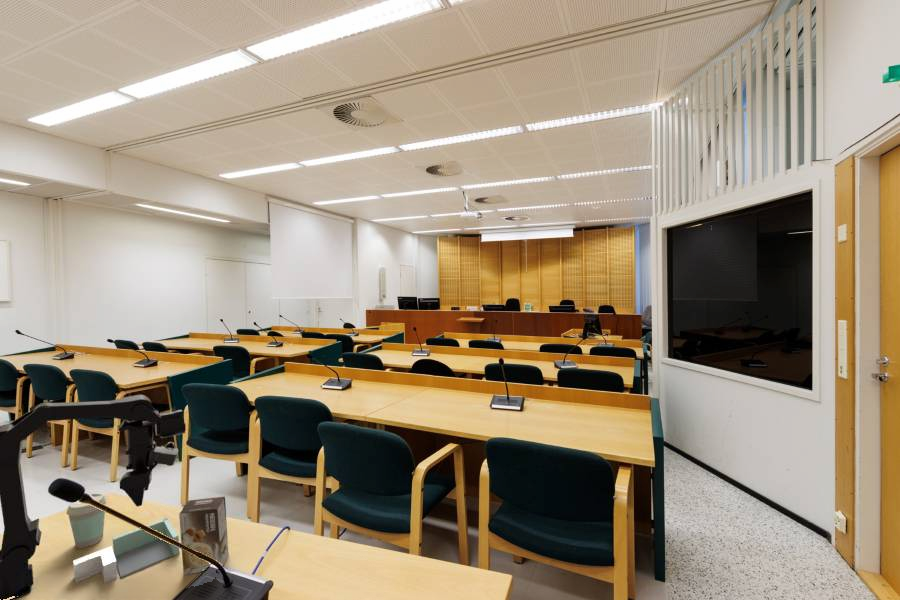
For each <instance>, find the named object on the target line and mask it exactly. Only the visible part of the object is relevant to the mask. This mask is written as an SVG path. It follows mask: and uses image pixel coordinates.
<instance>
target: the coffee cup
mask: <svg viewBox="0 0 900 600" xmlns="http://www.w3.org/2000/svg"><path fill="white" fill-rule="evenodd" d="M90 495H92V496H93V497H94V498H95V499H96V500H97V501H99V502H100V503H102V504H105V506H106V504H107V502H108V501H107V498H106V497H105V494H104V493H99V492H98V493H97V492H96V493H90ZM66 515H67V516H68V519H69V523H70V527H71V532H72V536H73V539H74V544H75V548H80V549H82V548H87V547H91V546H93V545H95V544H97V543H99V542H100V541H102V540H103V538H104V530H105V528H104V527H105V515H106V511H105V512H104V511H101V510H99V509H97V508H95V507H93V506H90V505H86V504H70V503H69V504H68V507H67V508H66Z"/></svg>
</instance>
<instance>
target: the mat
mask: <svg viewBox="0 0 900 600" xmlns="http://www.w3.org/2000/svg"><path fill="white" fill-rule="evenodd" d="M172 557H175V556H174V553H173V551H172V549H171V548H170V546H169V544H168V543H167V542H165V541H163V540H160V539H158V540H155V541H152V542H150V543H147V544H145V545H142V546H140V547H137V548H135V549H132V550H129V551H127V552H124V553H122V554H119V555H117V556H115V559H116V566H117V570H118V571H117V572H119V576H120V577H119V578H120V579H122V578H125V577H127V576H129V575H132V574H134V573H137V572H140V571H142V570H144V569H146V568H148V567H151V566H153V565H155V564H158V563H160V562H163V561H165V560H167V559H170V558H172Z"/></svg>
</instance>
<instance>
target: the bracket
mask: <svg viewBox="0 0 900 600" xmlns="http://www.w3.org/2000/svg"><path fill="white" fill-rule="evenodd" d="M72 563H73V577H74V582H75V583H77V582H80V581H82V580H85V579H87V578H89V577H92V576H95V575H98V574H99V573H101V574H102V579H103V582H104V584H105V583H108V582H110V581H113V580H115V579H118V571H117V570H118V568H117V564H116V559H115V556H114V553H113V546H108V547H106V548H103V549H101V550H98V551H95V552H92V553H90V554H86V555H84V556H82V557H79V558H76V559H73V561H72Z"/></svg>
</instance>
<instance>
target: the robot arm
mask: <svg viewBox="0 0 900 600" xmlns="http://www.w3.org/2000/svg"><path fill="white" fill-rule="evenodd" d="M101 418H102V419H104V418H105V419H106V418H111V419H118V420H122V422H121V423H120V424H119V425H117V431H118V432H122V431H126V444H127V445H126V447H127V448H126V450H125V456H127V464H126V468H125V469H126V470H131V471H126V472H125V473H124V474H123V475H122V477H121V478H120V480H119V489H120V490H121V491H124V492H125V493H126V495H127V496H128V497H129V499H130V500H131V501H132V502H133V504H134V505H135V506H136V507H141V506H142V505H143V502H144V495H145V491H148V490H149V487H150V484H151V482H152V478H153V477H152V475H153V473H152V472H153V470H154V469H155V468H156V467H157V466H158V464H159V465H167V466H169V467H171V466H174V465H175V461H176V459H177V457H178V453H179V448H178V447H176V445H175V444H176V443H175V442H173V441H168V442H167V443H166V444H165V445H161V446H157V441H156V442H155V440H154V432H153V431H154V430H155V436H159V438H161V439H164V438H168V437H174V436H179V435H185V433H186V428H187V427H186V423H185V417H184V411H183V410H182V409H178V410H174V411H170V412H164V413H159V410H156V409H155V408H154V406H153V403H152V401H151V399H150V398H149V397H148V396H146V395H144V394H136V395H135V394H134V395H129V396H124V397H121V398H116V399H113V400H102V401H101V400H98V401H97V400H96V401H73V402H72V401H71V402H49V401H48V402H47V401H45V402H42V403H39V404H37V405H36V406H35V407H34V408H33V409H31V410H30V411H28V412H26V413H24V414H23V415H21V416H20V417H17V418H16V419H15V420H13V421H11V422H10V423H9V424H2V425H0V507H1V515H2V521H3V527H4V528H3V534H2V535H3V536H2V540H1V548H0V599H1V600H3V599H7V598H9V597H12V596H15V597H17V596H20V597H22V596H21V595H23V596H25V595H28V594H30V593H31V591H32V587H33V585H34V572H33V564H32V563H31V564H29V560H30V559H31V558H32V557H33V556H34V555H35V553H36V548H37V547H38V546H40V544H41V538H42V531H41V529H40V528H39V527H40V526H39V524H40V518H39V517H38V518H37V519H34V520H32V519H31V518H30V517H29V514H28V507H27V501H26V494H25V486H24V479H23V472H22V465H21V458H22V452H23V444H24V440H25V439H27V438H28V437H30V436H32V434H33V433H35V432H36V431H37V430H38V429H39V428H41V427H42V426H43V425H44V424H46V423H47V422H52V421H55V422H56V421H68V420H69V421H72V420H86V419H89V420H90V419H101ZM153 427H154V428H153ZM27 593H28V594H27ZM17 598H18V597H17Z"/></svg>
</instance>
